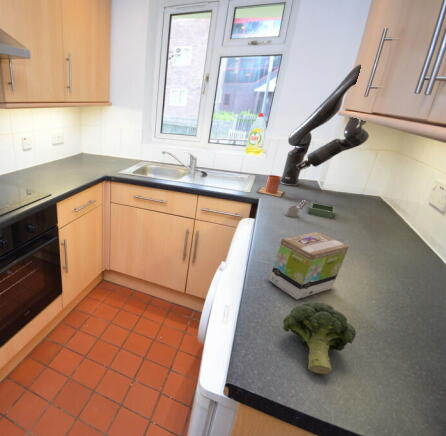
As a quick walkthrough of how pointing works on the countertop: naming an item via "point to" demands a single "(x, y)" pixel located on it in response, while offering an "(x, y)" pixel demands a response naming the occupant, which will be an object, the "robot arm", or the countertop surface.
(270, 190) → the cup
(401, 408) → the countertop surface
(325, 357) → the vegetable
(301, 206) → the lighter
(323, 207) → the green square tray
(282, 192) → the coaster
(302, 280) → the tea box
